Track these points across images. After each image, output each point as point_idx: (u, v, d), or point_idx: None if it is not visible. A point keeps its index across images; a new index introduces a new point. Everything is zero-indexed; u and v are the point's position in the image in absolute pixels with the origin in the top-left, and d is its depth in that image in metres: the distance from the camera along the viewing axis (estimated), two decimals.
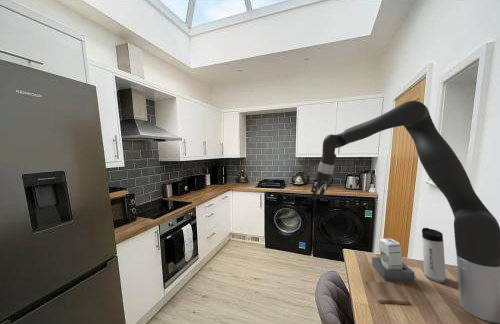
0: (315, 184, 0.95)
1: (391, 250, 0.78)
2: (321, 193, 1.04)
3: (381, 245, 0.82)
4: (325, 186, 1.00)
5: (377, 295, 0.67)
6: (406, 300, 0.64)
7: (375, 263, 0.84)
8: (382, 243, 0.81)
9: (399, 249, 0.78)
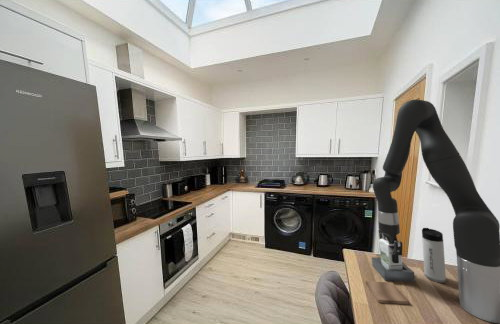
0: (399, 244, 0.74)
1: None
2: None
3: (381, 245, 0.82)
4: None
5: (377, 295, 0.67)
6: (406, 300, 0.64)
7: (375, 263, 0.84)
8: (382, 243, 0.81)
9: None
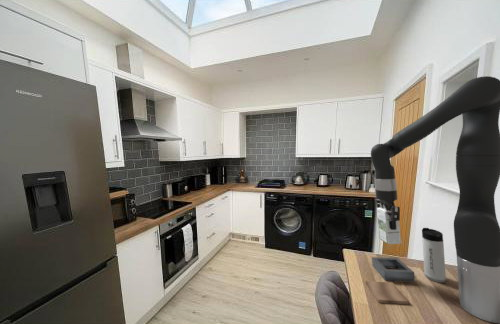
0: (396, 209, 0.73)
1: None
2: None
3: (379, 214, 0.81)
4: None
5: (377, 295, 0.67)
6: (406, 300, 0.64)
7: (375, 263, 0.84)
8: (379, 211, 0.80)
9: None
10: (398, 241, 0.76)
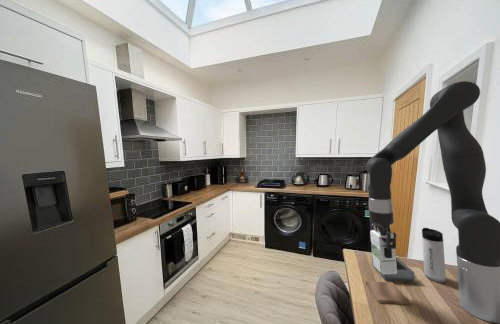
0: (392, 236, 0.63)
1: None
2: None
3: (372, 238, 0.71)
4: None
5: (377, 295, 0.67)
6: (406, 300, 0.64)
7: None
8: (373, 235, 0.70)
9: None
10: (394, 271, 0.66)
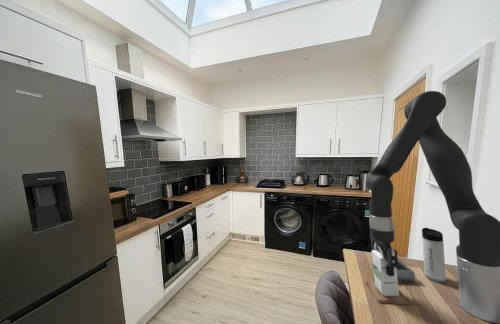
0: (393, 253, 0.63)
1: (384, 264, 0.66)
2: None
3: (373, 258, 0.71)
4: None
5: (377, 295, 0.67)
6: (406, 300, 0.64)
7: None
8: (374, 255, 0.70)
9: None
10: (396, 293, 0.66)
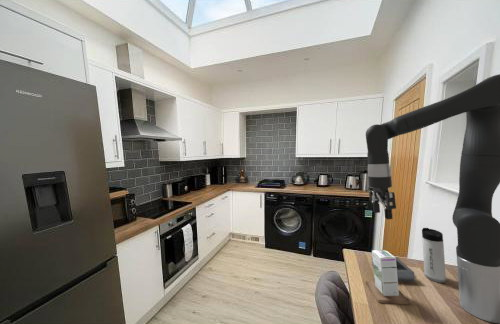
0: (391, 195, 0.65)
1: (385, 264, 0.66)
2: (376, 208, 0.76)
3: (374, 258, 0.71)
4: None
5: (377, 295, 0.67)
6: (406, 300, 0.64)
7: None
8: (375, 255, 0.70)
9: (394, 264, 0.66)
10: (396, 293, 0.66)
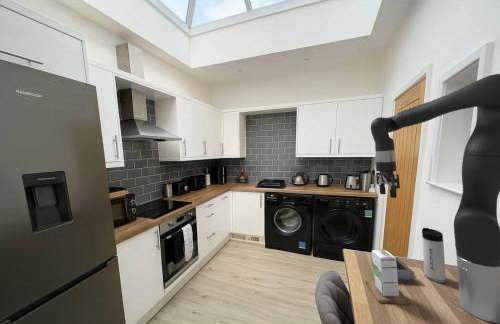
0: (395, 176, 0.76)
1: (385, 264, 0.66)
2: (382, 190, 0.87)
3: (374, 258, 0.71)
4: None
5: (377, 295, 0.67)
6: (406, 300, 0.64)
7: None
8: (375, 255, 0.70)
9: (394, 264, 0.66)
10: (396, 293, 0.66)
